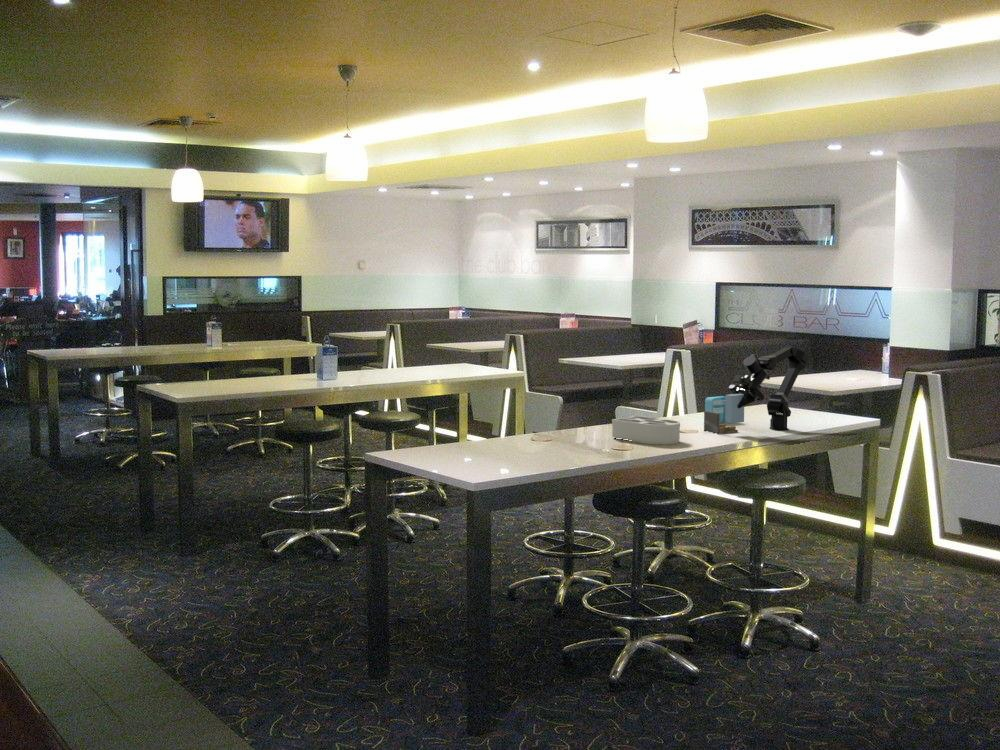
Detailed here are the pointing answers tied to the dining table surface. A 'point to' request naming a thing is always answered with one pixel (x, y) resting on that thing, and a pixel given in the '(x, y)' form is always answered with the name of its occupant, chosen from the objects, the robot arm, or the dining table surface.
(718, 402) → the data package
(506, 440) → the dining table surface
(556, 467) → the dining table surface
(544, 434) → the dining table surface
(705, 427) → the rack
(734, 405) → the blue angular block
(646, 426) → the ice cube tray
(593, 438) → the dining table surface
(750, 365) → the robot arm
